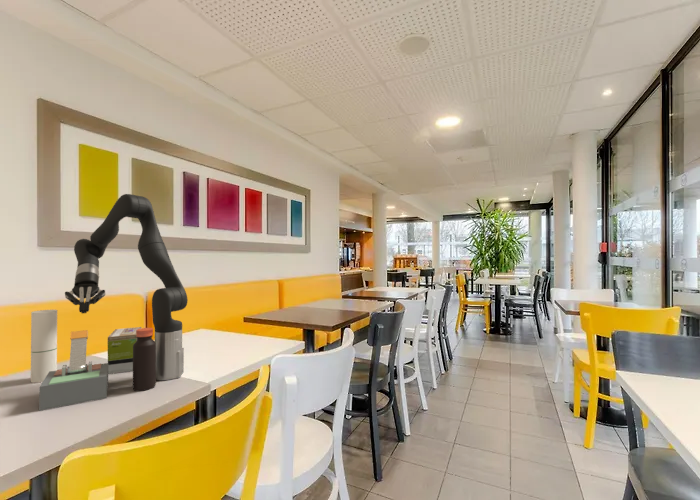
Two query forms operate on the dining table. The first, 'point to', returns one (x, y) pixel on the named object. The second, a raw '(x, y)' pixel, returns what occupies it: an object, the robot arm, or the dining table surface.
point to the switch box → (73, 386)
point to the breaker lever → (78, 352)
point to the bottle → (144, 360)
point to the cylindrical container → (43, 344)
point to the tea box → (121, 350)
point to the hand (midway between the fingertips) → (83, 312)
